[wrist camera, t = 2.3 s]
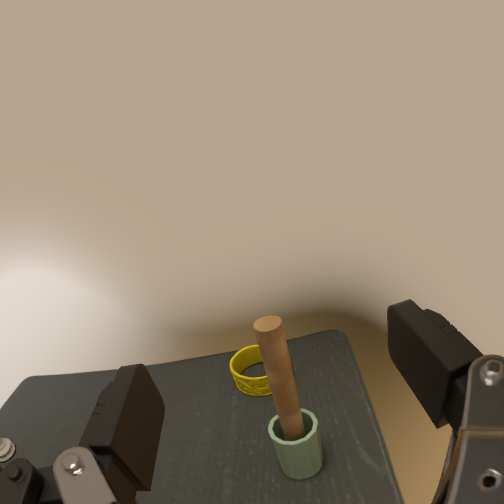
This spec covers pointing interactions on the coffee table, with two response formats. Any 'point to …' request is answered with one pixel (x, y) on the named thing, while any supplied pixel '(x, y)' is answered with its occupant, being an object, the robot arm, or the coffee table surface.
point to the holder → (298, 448)
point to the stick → (280, 375)
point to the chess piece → (6, 449)
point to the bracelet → (240, 363)
